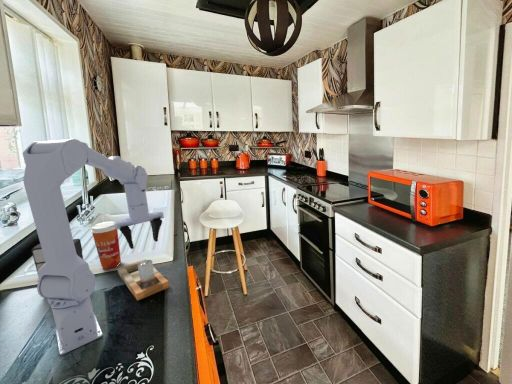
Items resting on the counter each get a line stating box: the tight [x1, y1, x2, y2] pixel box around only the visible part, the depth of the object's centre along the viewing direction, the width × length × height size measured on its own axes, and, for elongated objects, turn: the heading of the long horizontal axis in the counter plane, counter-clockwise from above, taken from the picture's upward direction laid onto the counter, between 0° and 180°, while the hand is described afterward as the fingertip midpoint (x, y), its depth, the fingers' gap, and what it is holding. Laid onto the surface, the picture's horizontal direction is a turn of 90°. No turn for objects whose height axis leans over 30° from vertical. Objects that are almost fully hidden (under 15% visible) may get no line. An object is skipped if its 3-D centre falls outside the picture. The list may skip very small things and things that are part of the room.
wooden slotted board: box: [116, 259, 170, 302], centre depth 83 cm, size 20×9×2 cm, turn 40°
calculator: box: [31, 238, 85, 272], centre depth 78 cm, size 11×4×15 cm, turn 105°
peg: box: [137, 259, 156, 289], centre depth 78 cm, size 4×4×8 cm
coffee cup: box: [90, 220, 122, 270], centre depth 93 cm, size 8×8×15 cm
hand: (144, 244), depth 87 cm, fingers open, 7 cm apart
